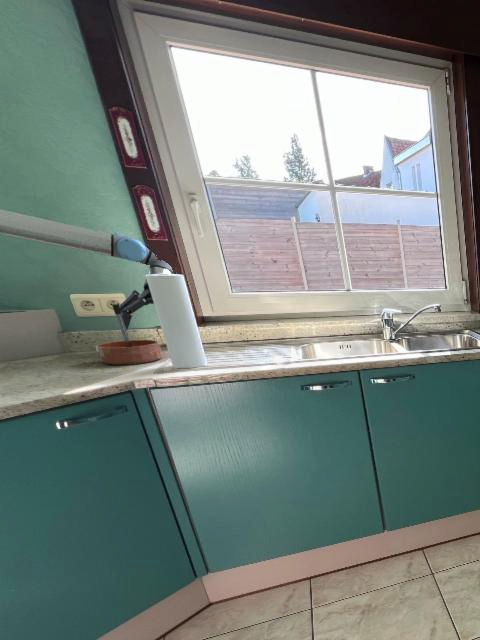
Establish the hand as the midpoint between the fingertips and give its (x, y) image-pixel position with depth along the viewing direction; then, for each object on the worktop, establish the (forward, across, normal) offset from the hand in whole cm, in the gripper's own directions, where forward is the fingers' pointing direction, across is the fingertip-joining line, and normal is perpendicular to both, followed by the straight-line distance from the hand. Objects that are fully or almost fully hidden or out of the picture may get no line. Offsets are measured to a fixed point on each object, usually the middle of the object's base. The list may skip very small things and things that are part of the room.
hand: (144, 328), depth 178 cm
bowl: (+14, 0, 0) cm, 14 cm away
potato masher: (+13, 0, +1) cm, 13 cm away
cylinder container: (+20, -23, +6) cm, 31 cm away
